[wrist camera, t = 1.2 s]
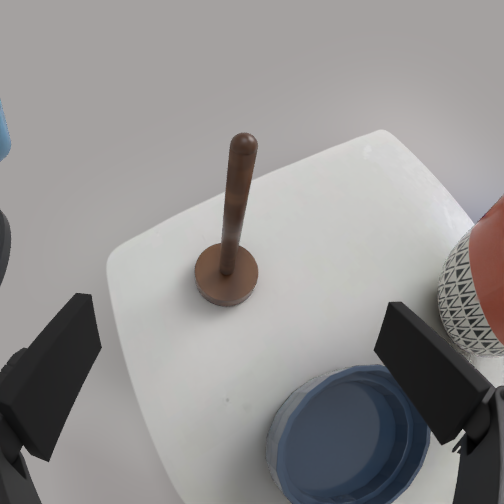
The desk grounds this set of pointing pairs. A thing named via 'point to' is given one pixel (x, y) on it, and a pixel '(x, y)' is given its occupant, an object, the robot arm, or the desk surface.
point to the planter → (476, 287)
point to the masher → (231, 234)
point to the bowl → (347, 439)
